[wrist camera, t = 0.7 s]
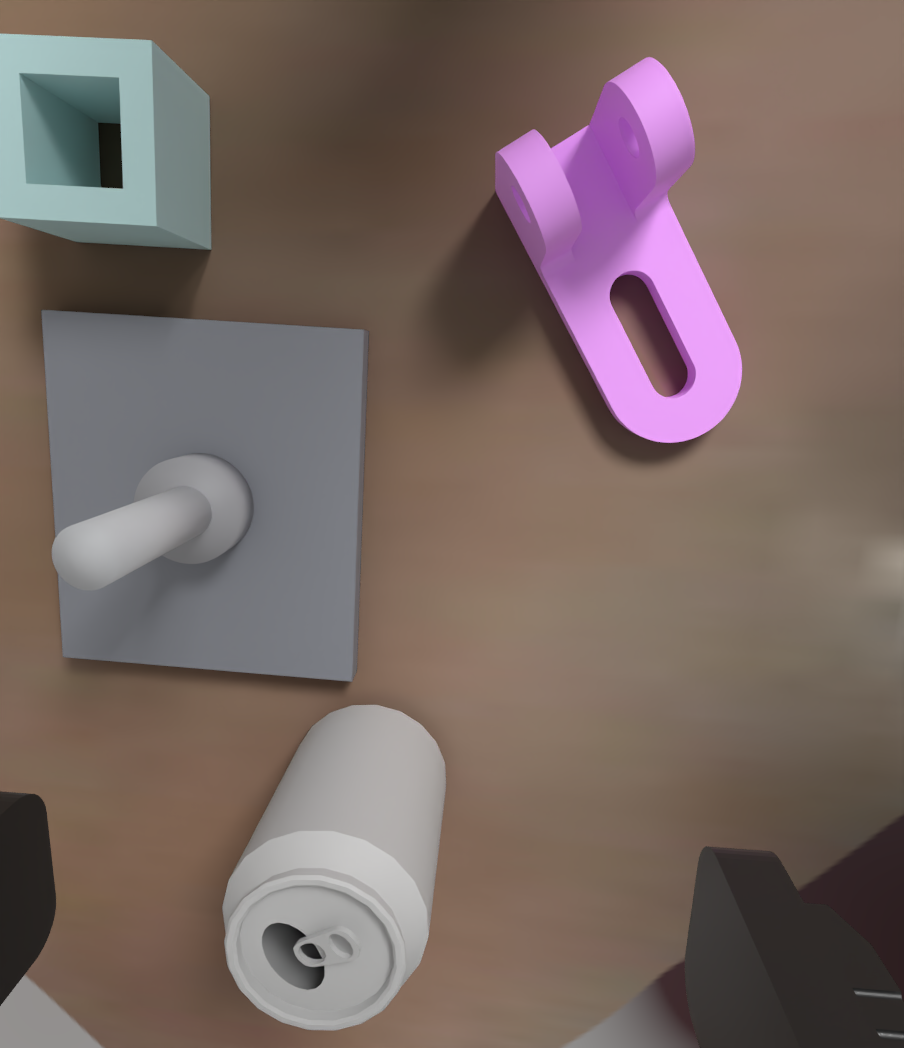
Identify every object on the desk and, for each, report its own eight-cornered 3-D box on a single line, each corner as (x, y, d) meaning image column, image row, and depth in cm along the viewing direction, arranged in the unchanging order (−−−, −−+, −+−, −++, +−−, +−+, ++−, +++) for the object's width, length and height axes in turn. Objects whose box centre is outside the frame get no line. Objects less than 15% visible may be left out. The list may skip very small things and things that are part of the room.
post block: (58, 312, 31) (-156, 282, 21) (369, 331, 30) (305, 310, 20) (77, 647, 35) (-99, 763, 24) (356, 670, 34) (297, 800, 24)
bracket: (495, 192, 29) (495, 137, 22) (615, 117, 28) (653, 36, 21) (636, 462, 31) (675, 487, 24) (752, 399, 30) (826, 407, 24)
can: (271, 736, 35) (159, 918, 23) (399, 670, 34) (349, 827, 22) (348, 852, 36) (279, 1082, 24) (475, 793, 35) (465, 1004, 23)
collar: (68, 89, 29) (-17, 32, 24) (209, 96, 29) (151, 40, 24) (76, 242, 30) (-4, 217, 26) (211, 249, 30) (156, 226, 25)
